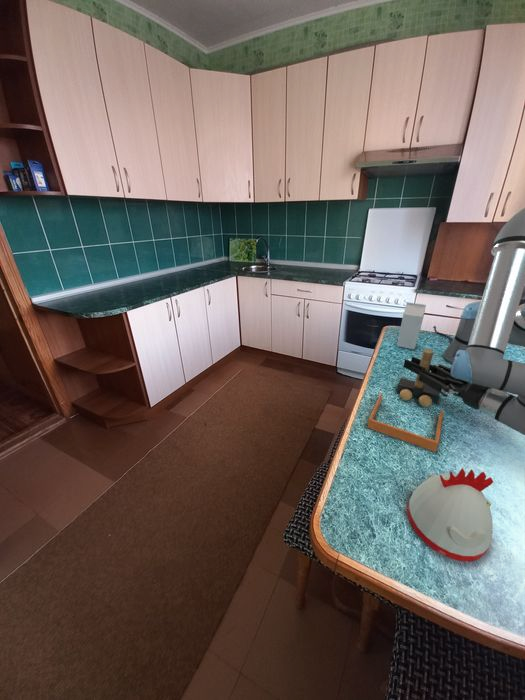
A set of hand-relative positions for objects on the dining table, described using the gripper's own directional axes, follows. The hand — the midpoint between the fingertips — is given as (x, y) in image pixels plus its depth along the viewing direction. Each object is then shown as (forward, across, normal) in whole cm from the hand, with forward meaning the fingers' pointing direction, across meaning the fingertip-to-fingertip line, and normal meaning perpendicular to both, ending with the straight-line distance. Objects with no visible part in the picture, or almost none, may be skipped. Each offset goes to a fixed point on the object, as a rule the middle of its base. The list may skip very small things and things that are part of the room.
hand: (408, 361), depth 96 cm
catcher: (-13, -16, -10) cm, 22 cm away
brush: (-5, 0, -10) cm, 11 cm away
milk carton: (+20, +28, -10) cm, 36 cm away
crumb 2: (-10, -4, -8) cm, 14 cm away
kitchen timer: (-36, -34, -10) cm, 50 cm away
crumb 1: (-5, -6, -8) cm, 11 cm away
